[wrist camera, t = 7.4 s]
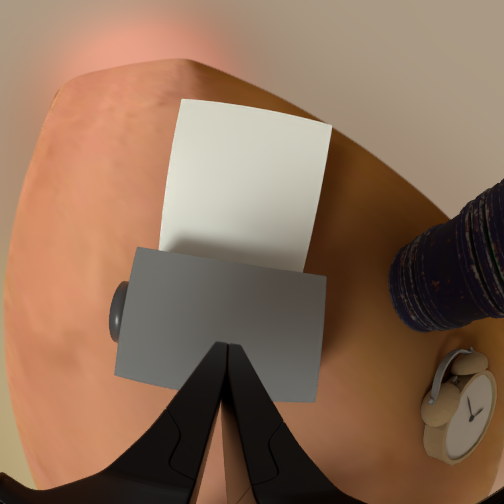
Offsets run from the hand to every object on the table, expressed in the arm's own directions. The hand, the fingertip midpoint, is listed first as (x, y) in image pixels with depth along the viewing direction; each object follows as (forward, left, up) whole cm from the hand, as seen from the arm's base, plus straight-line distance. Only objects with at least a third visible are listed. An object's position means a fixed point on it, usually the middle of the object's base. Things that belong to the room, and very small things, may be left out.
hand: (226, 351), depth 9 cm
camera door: (+6, -2, -12) cm, 13 cm away
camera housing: (+1, 0, -13) cm, 13 cm away
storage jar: (0, -21, -13) cm, 25 cm away
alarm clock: (-15, -22, -13) cm, 30 cm away
